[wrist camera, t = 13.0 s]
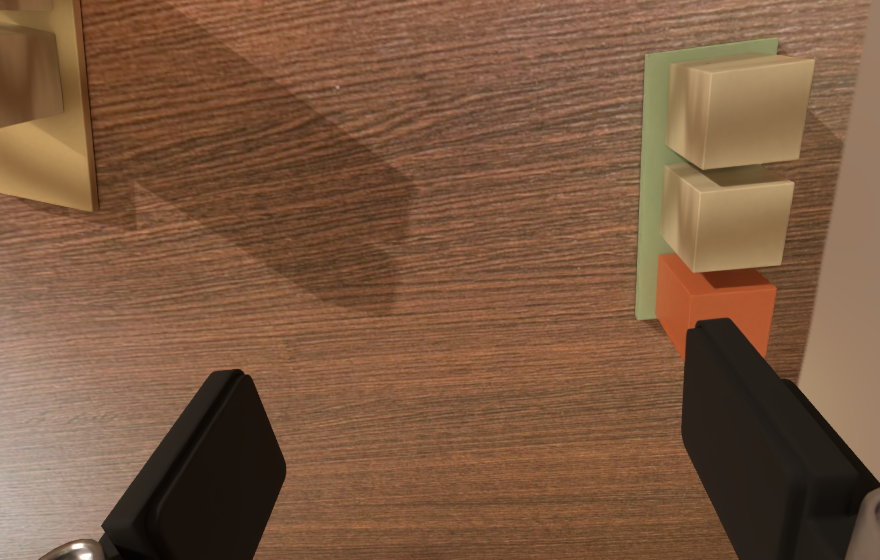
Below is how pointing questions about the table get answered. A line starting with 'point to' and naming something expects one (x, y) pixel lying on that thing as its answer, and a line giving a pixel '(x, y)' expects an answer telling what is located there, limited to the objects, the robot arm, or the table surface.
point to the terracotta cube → (713, 301)
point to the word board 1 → (54, 137)
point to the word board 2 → (717, 157)
